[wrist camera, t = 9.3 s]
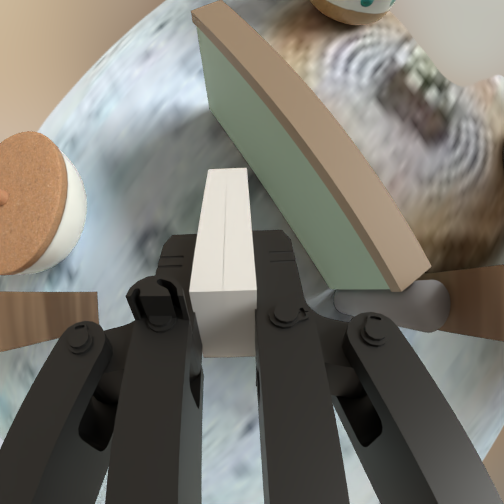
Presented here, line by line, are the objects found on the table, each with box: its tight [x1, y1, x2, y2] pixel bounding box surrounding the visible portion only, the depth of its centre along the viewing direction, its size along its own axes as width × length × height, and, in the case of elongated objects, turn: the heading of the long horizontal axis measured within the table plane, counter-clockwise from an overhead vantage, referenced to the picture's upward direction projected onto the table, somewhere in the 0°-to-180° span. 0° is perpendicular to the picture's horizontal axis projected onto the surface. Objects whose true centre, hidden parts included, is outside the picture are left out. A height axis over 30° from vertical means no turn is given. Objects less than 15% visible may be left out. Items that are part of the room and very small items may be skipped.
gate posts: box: [0, 265, 504, 352], centre depth 16 cm, size 28×3×16 cm, turn 93°
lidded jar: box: [0, 131, 87, 275], centre depth 20 cm, size 11×11×9 cm
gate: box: [191, 0, 451, 333], centre depth 19 cm, size 21×2×12 cm, turn 33°
